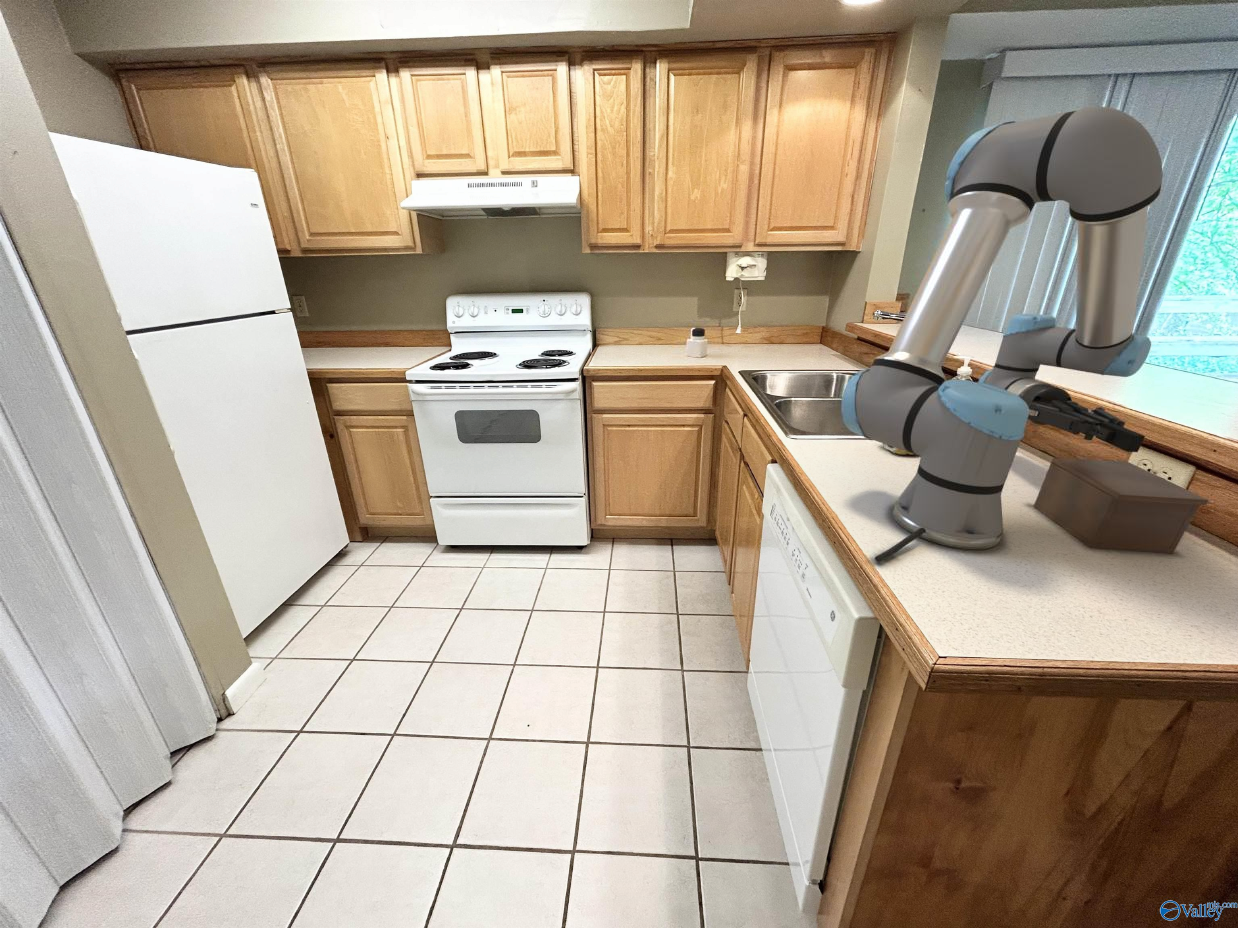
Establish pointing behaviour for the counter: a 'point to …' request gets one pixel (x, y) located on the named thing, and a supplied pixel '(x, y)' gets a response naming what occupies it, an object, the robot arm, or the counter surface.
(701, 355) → the medicine bottle
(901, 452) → the pastry
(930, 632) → the counter surface
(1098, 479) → the lid
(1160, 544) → the chest
